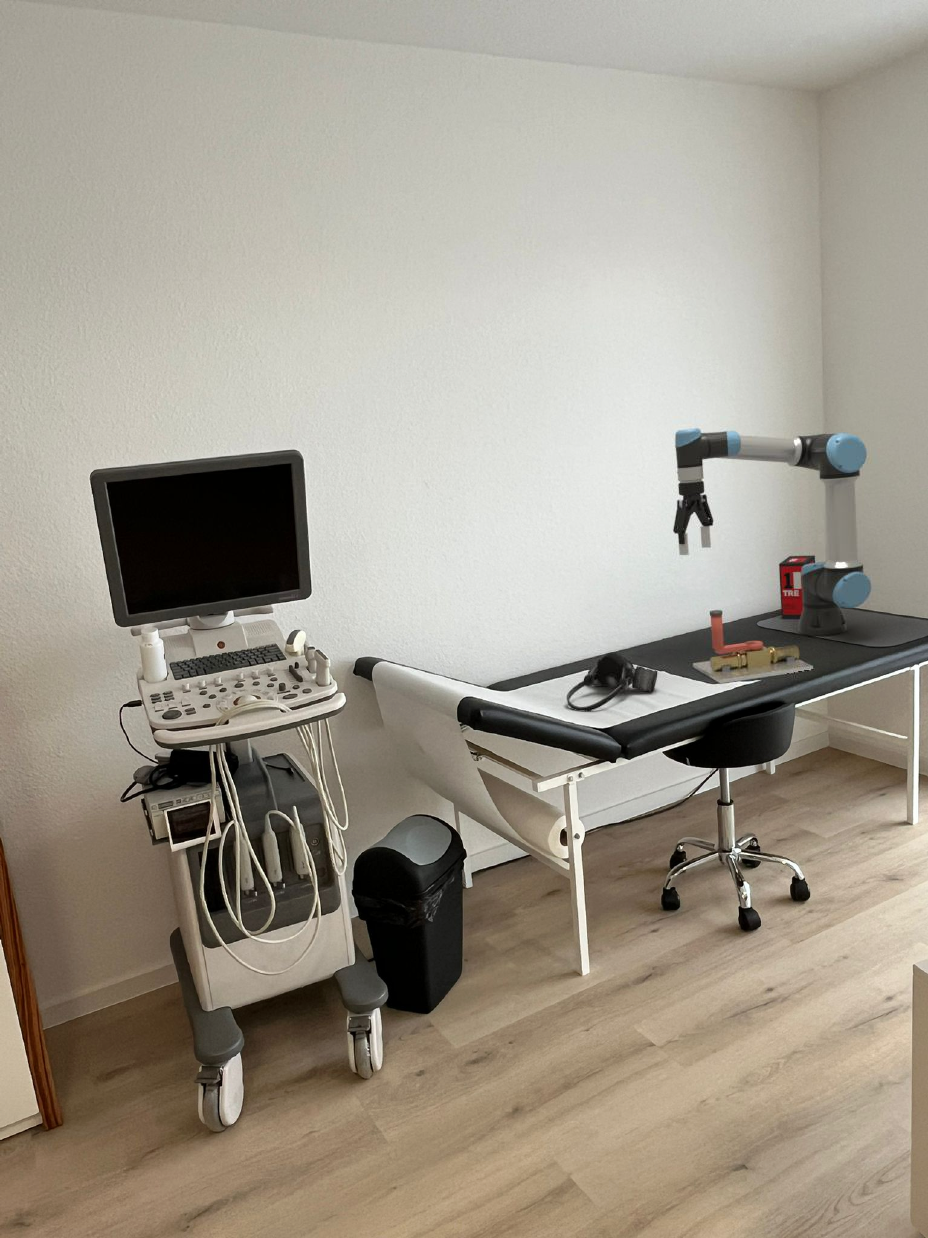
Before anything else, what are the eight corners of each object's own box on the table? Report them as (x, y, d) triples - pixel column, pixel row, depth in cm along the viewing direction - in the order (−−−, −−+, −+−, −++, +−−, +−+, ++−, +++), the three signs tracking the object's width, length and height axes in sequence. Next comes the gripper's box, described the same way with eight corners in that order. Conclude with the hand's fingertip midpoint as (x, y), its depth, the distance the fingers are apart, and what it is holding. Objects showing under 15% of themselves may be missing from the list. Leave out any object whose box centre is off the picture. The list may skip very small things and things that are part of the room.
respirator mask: (667, 676, 280) (644, 641, 270) (637, 747, 270) (612, 713, 260) (602, 669, 295) (578, 636, 285) (571, 736, 285) (544, 704, 275)
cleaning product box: (792, 609, 362) (789, 556, 358) (817, 609, 358) (814, 555, 354) (781, 619, 348) (779, 563, 345) (807, 619, 344) (805, 563, 340)
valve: (779, 654, 302) (778, 635, 301) (812, 669, 281) (812, 649, 280) (693, 667, 298) (691, 648, 297) (720, 683, 278) (719, 663, 277)
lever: (758, 644, 291) (756, 603, 289) (765, 648, 286) (763, 606, 284) (709, 652, 289) (706, 610, 287) (716, 655, 284) (713, 613, 282)
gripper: (700, 477, 305) (704, 544, 309) (658, 486, 287) (663, 557, 291) (722, 475, 300) (726, 544, 304) (680, 485, 282) (685, 558, 286)
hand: (695, 551), depth 297 cm, fingers open, 13 cm apart
